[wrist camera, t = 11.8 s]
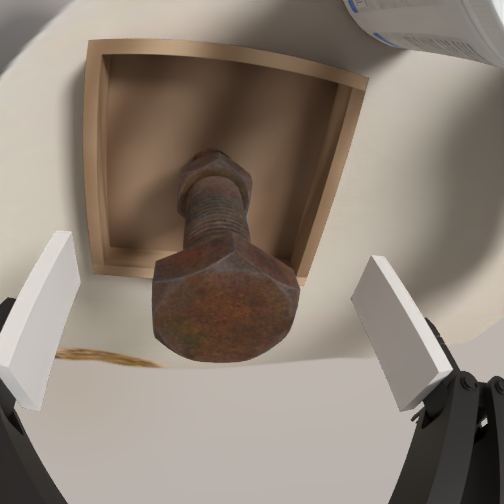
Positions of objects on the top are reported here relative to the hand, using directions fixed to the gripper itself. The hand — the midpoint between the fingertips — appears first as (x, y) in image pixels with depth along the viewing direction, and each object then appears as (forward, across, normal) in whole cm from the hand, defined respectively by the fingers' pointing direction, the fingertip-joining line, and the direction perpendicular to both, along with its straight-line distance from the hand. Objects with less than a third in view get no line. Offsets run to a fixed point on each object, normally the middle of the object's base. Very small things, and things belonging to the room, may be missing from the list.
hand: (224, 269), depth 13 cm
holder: (+13, 0, 0) cm, 13 cm away
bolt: (+12, 0, 0) cm, 12 cm away
